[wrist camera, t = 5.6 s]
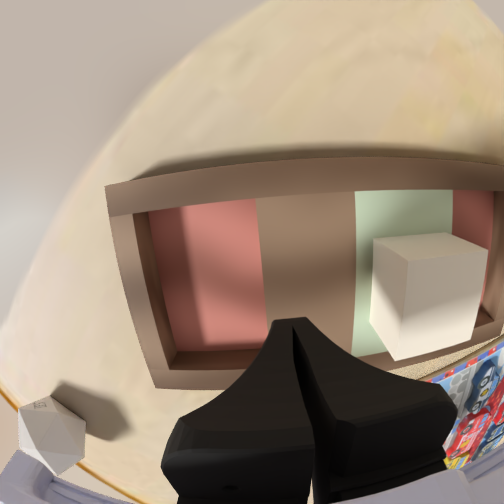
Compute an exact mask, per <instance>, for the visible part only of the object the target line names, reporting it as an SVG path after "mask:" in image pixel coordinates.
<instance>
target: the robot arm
mask: <svg viewBox="0 0 504 504" xmlns="http://www.w3.org/2000/svg"><path fill="white" fill-rule="evenodd" d="M457 416H458V409H457V407H456V405H455V404H454V402H453V401H452V399H451V398H450V396H449V395H448V393H447V392H446V391H445V390H444V388H443V387H442V386H441V385H440V384H438V383H431V382H425V381H419V380H414V379H409V378H406V377H402V376H399V375H395V374H392V373H389V372H386V371H384V370H381V369H379V368H377V367H374V366H372V365H370V364H368V363H365V362H363V361H362V360H360V359H358V358H356V357H354V356H353V355H351V354H349V353H348V352H346V351H345V350H343V349H342V348H341V347H339V346H338V345H336V344H335V343H334V342H333V341H331V340H330V339H329V338H328V337H327V336H326V335H324V334H323V333H322V332H321V331H320V330H319V329H318V328H317V327H316V326H315V325H314V324H313V323H312V322H311V321H310V320H309V319H308V318H307V317H297V318H287V319H276V320H273V321H272V323H271V328H270V330H269V333H268V335H267V338H266V340H265V341H264V343H263V345H262V347H261V349H260V351H259V352H258V354H257V355H256V357H255V358H254V360H253V361H252V362H251V364H250V365H249V366H248V368H247V369H246V370H245V371H244V372H243V374H242V375H241V376H240V377H239V378H238V379H237V380H236V381H235V382H234V383H233V384H232V385H231V386H230V387H228V388H227V389H226V390H225V391H224V392H222V393H221V394H220V395H218V396H217V397H216V398H214V399H213V400H211V401H210V402H208V403H207V404H205V405H203V406H202V407H200V408H198V409H196V410H194V411H192V412H190V413H189V414H187V415H185V416H183V417H180V418H179V419H178V421H177V423H176V425H175V427H174V429H173V431H172V433H171V435H170V437H169V439H168V442H167V445H166V448H165V451H164V455H163V458H162V462H161V469H162V471H163V474H164V475H165V477H166V478H167V480H168V481H169V482H170V484H171V485H172V487H173V488H174V489H175V491H176V492H177V493H178V495H179V497H178V501H177V504H307V501H308V497H309V494H310V486H311V479H312V487H313V499H314V504H504V443H503V444H501V445H500V446H498V447H496V448H495V449H493V450H492V451H490V452H488V453H487V454H485V455H483V456H482V457H480V458H478V459H476V460H475V461H473V462H471V463H469V464H467V465H465V466H463V467H461V468H459V469H448V468H447V466H446V464H445V462H444V459H445V458H446V452H445V450H444V448H443V444H444V443H445V441H446V439H447V437H448V436H449V434H450V432H451V430H452V428H453V427H454V424H455V422H456V419H457ZM0 503H1V504H133V503H129V502H125V501H122V500H118V499H115V498H112V497H108V496H105V495H102V494H99V493H96V492H93V491H90V490H88V489H85V488H82V487H79V486H77V485H75V484H72V483H70V482H67V481H65V480H63V479H60V478H58V477H56V476H54V475H53V473H52V472H51V471H50V470H49V469H48V468H47V467H46V466H45V465H44V464H43V463H42V462H40V461H39V460H37V459H36V458H34V457H32V456H30V455H28V454H26V453H24V452H22V451H20V450H17V451H16V452H15V453H14V455H13V456H12V458H11V459H10V461H9V462H8V464H7V465H6V467H5V468H4V470H3V471H2V473H1V474H0Z"/></svg>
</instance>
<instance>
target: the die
mask: <svg viewBox="0 0 504 504" xmlns="http://www.w3.org/2000/svg"><path fill="white" fill-rule="evenodd" d="M18 428H19V448H21V449H22V450H23V451H24V452H26V453H27V454H28V455H30V456H32V457H34V458H36V459H37V460H39V461H40V462H42V463H43V464H44V465H45V466H46V467H47V468H48V469H49V470H50V471H51V472H53V473H55V474H56V475H57V476H58V475H60V474H61V473H63V472H64V471H65V470H67V469H68V468H70V467H71V466H73V465H74V464H76V463H77V462H79V461H80V460H81V459H83V458H84V457H85V431H86V421H84V420H83V419H81V418H80V417H78V416H77V415H76V414H74V413H73V412H71V411H70V410H68V409H67V408H66V407H64V406H63V405H61V404H60V403H59V402H57V401H56V400H55V399H53V398H52V397H51V396H48V397H45V398H43V399H40V400H38V401H35V402H33V403H30V404H28V405H25V406H23V407H20V408H18Z"/></svg>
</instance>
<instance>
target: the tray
mask: <svg viewBox="0 0 504 504" xmlns="http://www.w3.org/2000/svg"><path fill="white" fill-rule="evenodd" d="M105 193H106V200H107V207H108V213H109V220H110V225H111V231H112V237H113V242H114V247H115V252H116V257H117V261H118V266H119V270H120V275H121V279H122V283H123V287H124V291H125V295H126V299H127V302H128V306H129V310H130V313H131V317H132V320H133V323H134V327H135V330H136V333H137V336H138V340H139V343H140V346H141V349H142V352H143V355H144V358H145V361H146V363H147V366H148V369H149V372H150V374H151V377H152V380H153V382H154V385H155V388H161V389H181V390H226V389H227V388H228V387H230V386H231V385H232V384H233V383H234V382H235V381H236V380H237V379H238V378H239V377H240V376H241V375H242V374H243V372H244V371H245V370H246V369H247V368H248V366H249V365H250V364H251V362H252V361H253V360H254V358H255V357H256V355H257V354H258V352H259V351H260V349H261V347H262V345H263V343H264V341H265V340H266V338H267V335H268V333H269V330H270V328H271V323H272V321H273V320H276V319H287V318H297V317H307V318H308V319H309V320H310V321H311V322H312V323H313V324H314V325H315V326H316V327H317V328H318V329H319V330H320V331H321V332H322V333H323V334H324V335H326V336H327V337H328V338H329V339H330V340H331V341H333V342H334V343H335V344H336V345H338V346H339V347H341V348H342V349H343V350H345V351H346V352H348V353H349V354H351V355H353V356H354V357H356V358H358V359H360V360H362V361H363V362H365V363H368V364H370V365H372V366H374V367H377V368H379V369H381V370H384V371H389V370H393V369H397V368H401V367H405V366H409V365H413V364H417V363H421V362H424V361H428V360H431V359H435V358H438V357H441V356H445V355H448V354H451V353H454V352H457V351H460V350H463V349H466V348H469V347H472V346H474V345H477V344H480V343H482V342H485V341H487V340H490V339H493V338H495V337H497V336H500V334H501V330H502V327H503V324H504V166H502V165H494V164H487V163H478V162H469V161H458V160H446V159H431V158H410V157H327V158H305V159H289V160H275V161H263V162H253V163H243V164H234V165H225V166H217V167H209V168H202V169H195V170H188V171H182V172H175V173H169V174H163V175H158V176H152V177H147V178H141V179H136V180H131V181H126V182H122V183H117V184H112V185H108V186H105ZM442 232H446V233H449V234H451V235H454V236H456V237H459V238H461V239H464V240H466V241H468V242H471V243H473V244H475V245H478V246H480V247H482V248H485V249H487V250H488V257H487V264H486V271H485V278H484V283H483V289H482V294H481V299H480V304H479V308H478V313H477V317H476V321H475V325H474V329H473V332H472V336H471V339H470V340H468V341H465V342H462V343H459V344H456V345H453V346H450V347H447V348H443V349H440V350H436V351H433V352H429V353H426V354H422V355H418V356H414V357H410V358H406V359H402V360H398V361H394V359H393V358H392V356H391V354H390V353H389V351H388V350H387V348H386V347H385V345H384V344H383V342H382V340H381V339H380V337H379V336H378V334H377V333H376V331H375V330H374V328H373V327H372V325H371V324H370V322H369V319H370V307H371V292H372V273H373V238H383V237H395V236H407V235H418V234H430V233H442Z"/></svg>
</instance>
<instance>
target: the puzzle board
mask: <svg viewBox="0 0 504 504" xmlns="http://www.w3.org/2000/svg"><path fill="white" fill-rule="evenodd" d="M418 380H419V381H425V382H431V383H438V384H440V385H441V386H442V387H443V388H444V390H445V391H446V392H447V393H448V395H449V396H450V398H451V399H452V401H453V402H454V404H455V405H456V407H457V409H458V416H457V419H456V422H455V424H454V427H453V428H452V430H451V432H450V434H449V436H448V437H447V439H446V441H445V443H444V444H443V448H444V450H445V452H446V458H445V459H444V462H445V464H446V466H447V468H448V469H459V468H461V467H463V466H465V465H467V464H469V463H471V462H473V461H475V460H476V459H478V458H480V457H482V456H483V455H485V454H487V453H488V452H490V451H492V450H493V449H494V448H495V447H496V445H497V444H498V442H499V441H500V440H501V438H502V437H503V435H504V335H502V336H500V337H499V338H497V339H496V340H494V341H492V342H491V343H489V344H487V345H486V346H484V347H482V348H480V349H479V350H477V351H475V352H473V353H471V354H470V355H468V356H466V357H464V358H462V359H460V360H458V361H456V362H454V363H452V364H450V365H448V366H446V367H444V368H442V369H440V370H438V371H436V372H434V373H431V374H429V375H427V376H425V377H422V378H420V379H418Z"/></svg>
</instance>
